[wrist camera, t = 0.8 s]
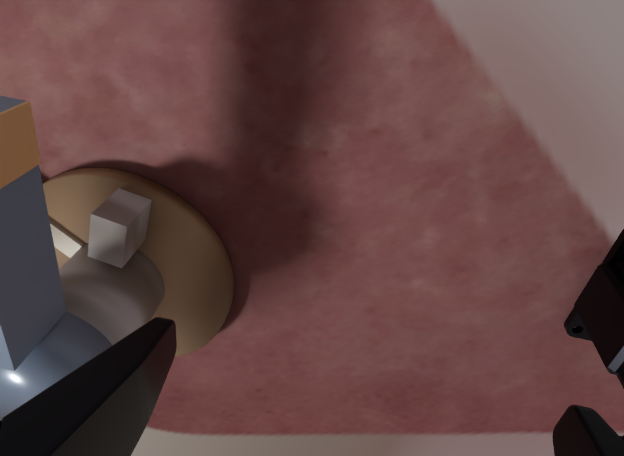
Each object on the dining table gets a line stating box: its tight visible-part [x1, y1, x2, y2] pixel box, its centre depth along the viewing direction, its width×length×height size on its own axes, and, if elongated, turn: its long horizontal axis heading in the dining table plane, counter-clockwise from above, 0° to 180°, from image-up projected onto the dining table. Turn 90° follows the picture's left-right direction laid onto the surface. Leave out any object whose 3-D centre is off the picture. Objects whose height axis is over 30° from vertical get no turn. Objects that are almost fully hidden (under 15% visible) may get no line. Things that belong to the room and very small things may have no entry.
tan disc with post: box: [43, 168, 234, 357], centre depth 23 cm, size 12×12×6 cm
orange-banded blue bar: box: [0, 96, 112, 421], centre depth 16 cm, size 14×6×3 cm, turn 171°
